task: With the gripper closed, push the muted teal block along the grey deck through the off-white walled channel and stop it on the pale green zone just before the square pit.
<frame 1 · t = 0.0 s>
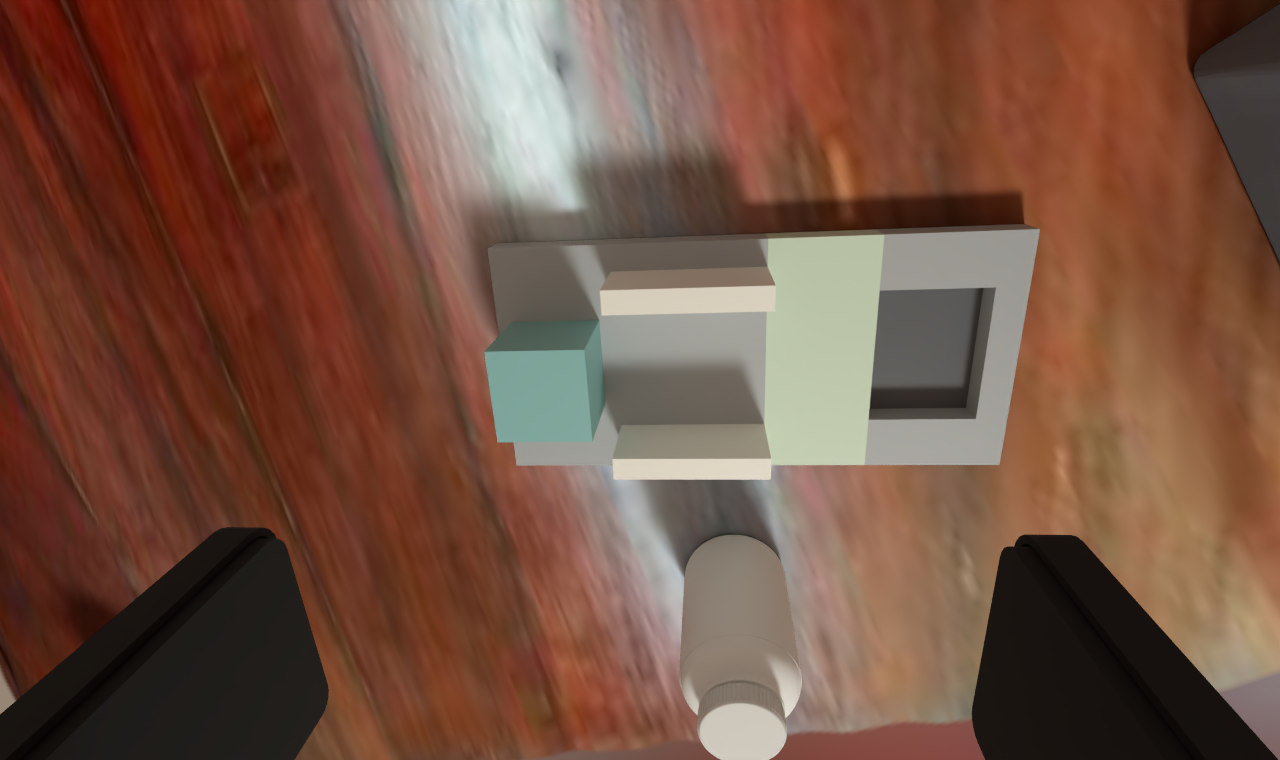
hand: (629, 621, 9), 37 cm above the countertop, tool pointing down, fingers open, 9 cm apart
deck: (748, 349, 46), on the countertop
pill bottle: (733, 571, 53), on the countertop
teal block: (559, 363, 45), point 2 cm above the countertop, touching deck
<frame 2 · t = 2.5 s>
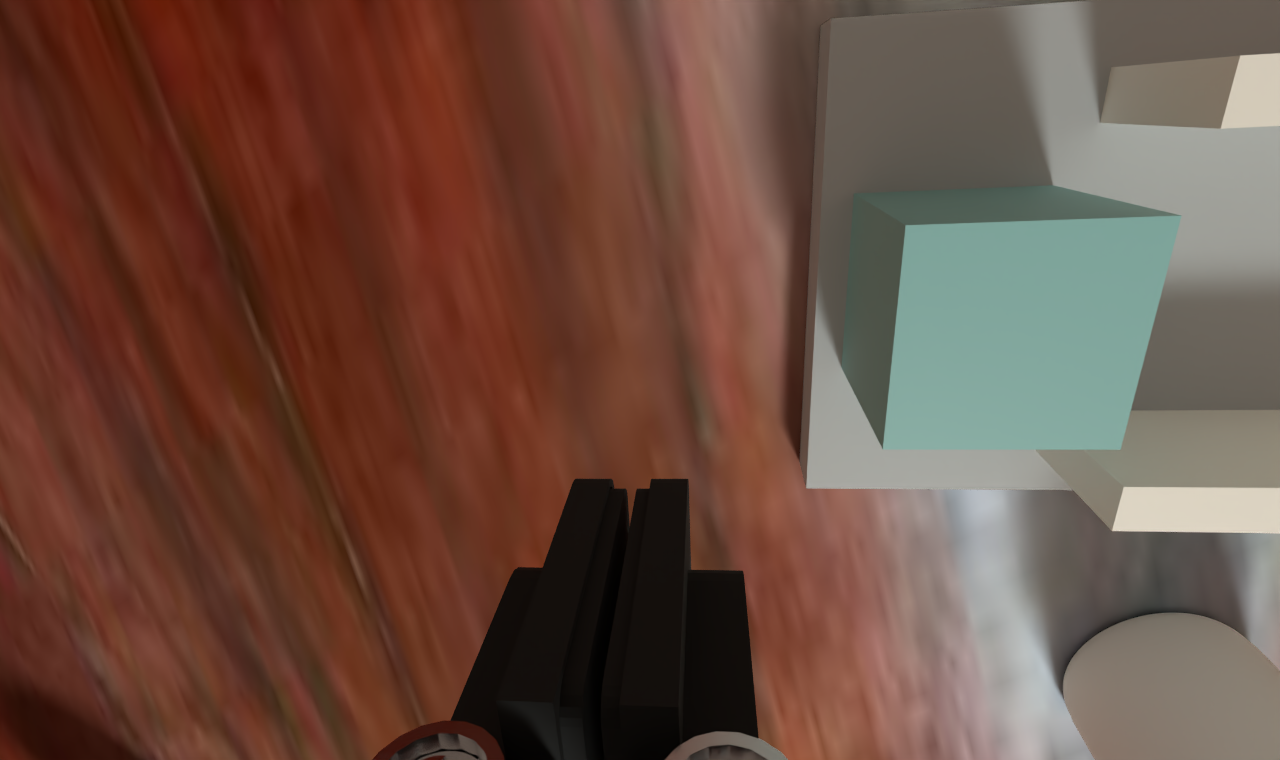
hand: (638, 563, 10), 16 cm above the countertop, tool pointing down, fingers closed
pill bottle: (1147, 671, 30), on the countertop
teal block: (940, 282, 22), point 2 cm above the countertop, touching deck
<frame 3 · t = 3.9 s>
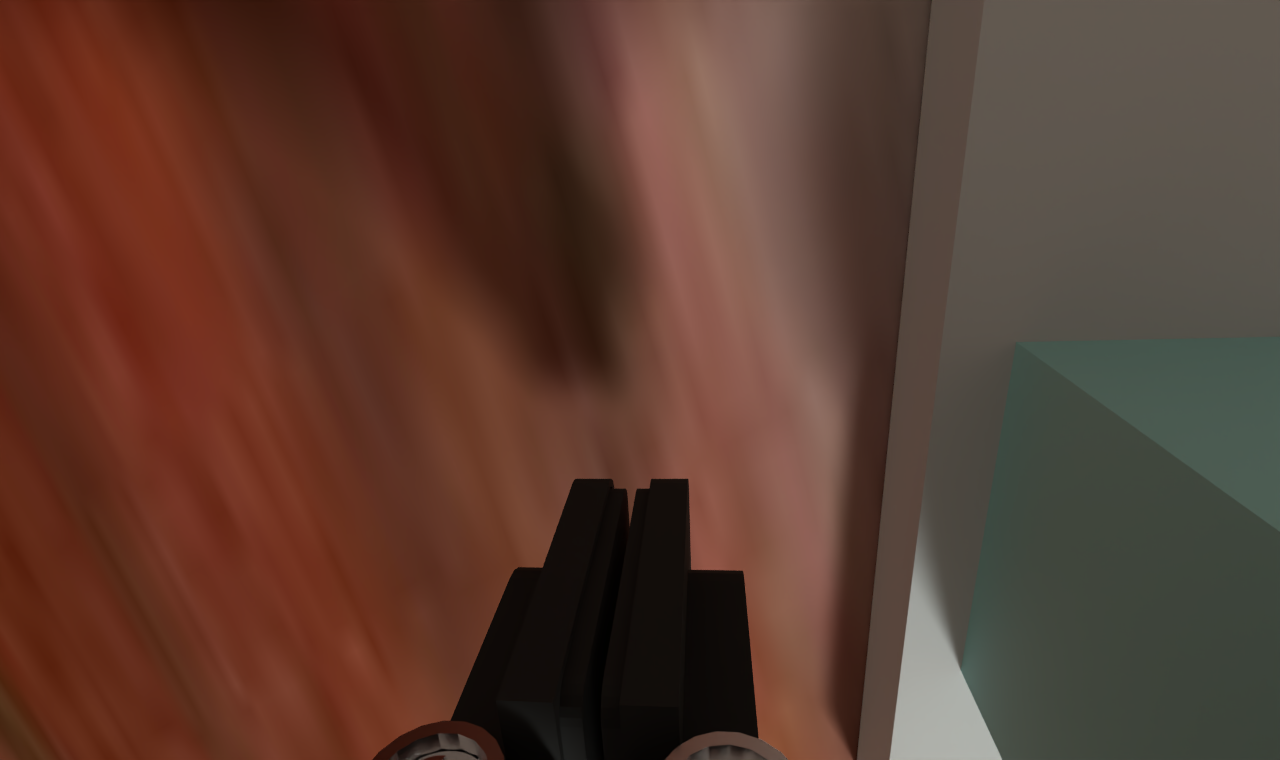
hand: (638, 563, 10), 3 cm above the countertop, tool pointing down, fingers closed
teal block: (1192, 525, 10), point 2 cm above the countertop, touching deck
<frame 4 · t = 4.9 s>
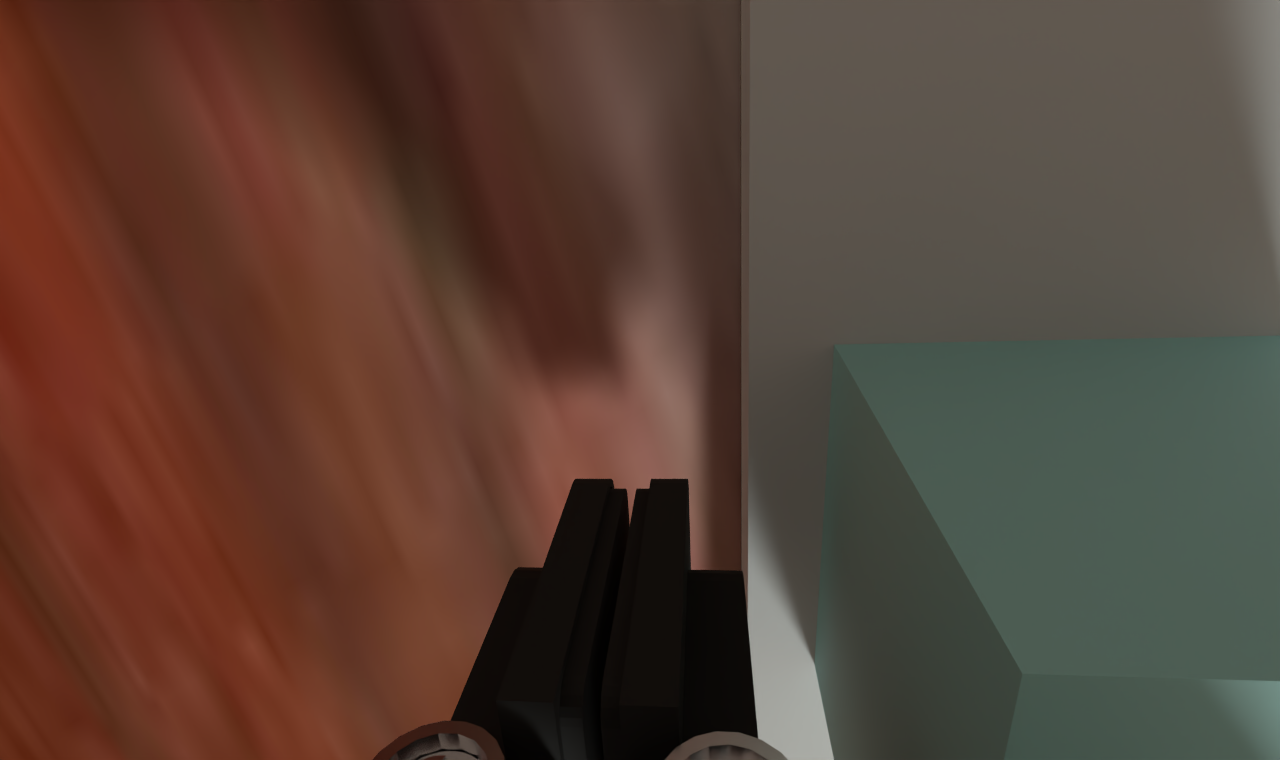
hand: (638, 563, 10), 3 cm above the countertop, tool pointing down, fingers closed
teal block: (1019, 522, 10), point 2 cm above the countertop, touching deck, gripper
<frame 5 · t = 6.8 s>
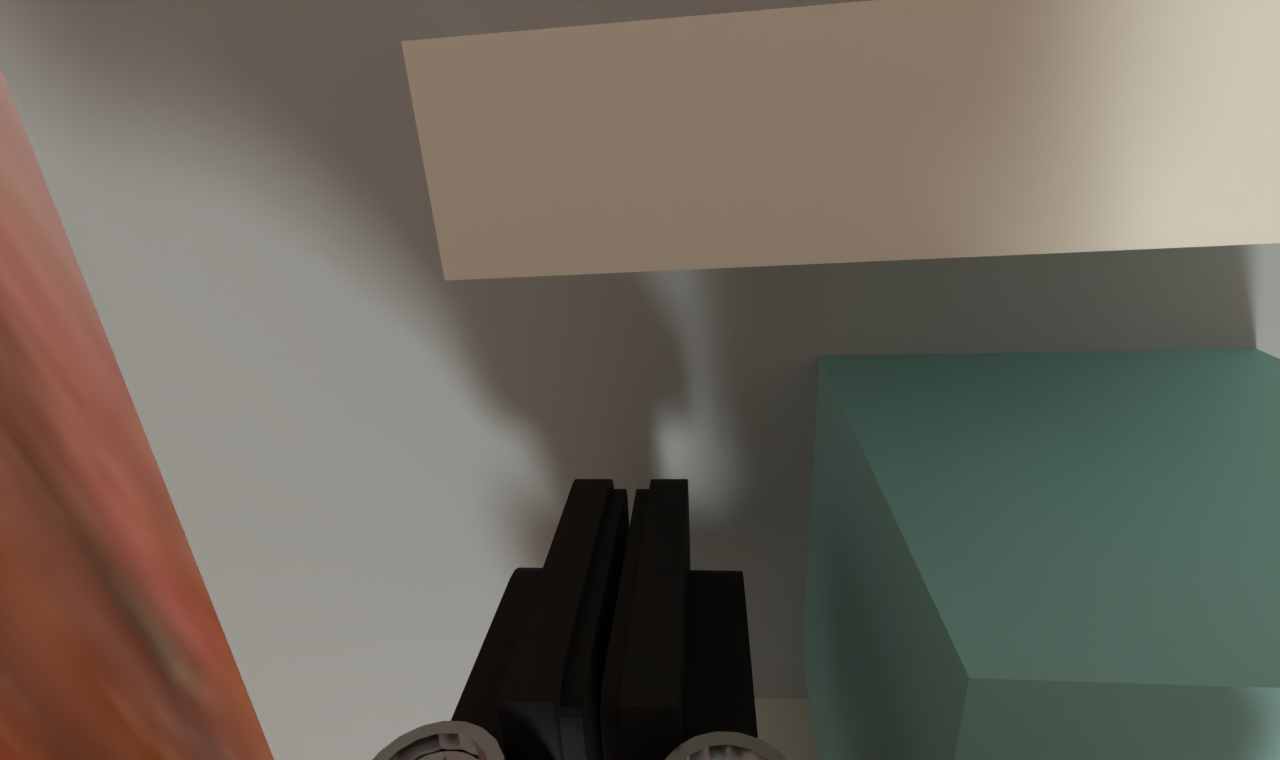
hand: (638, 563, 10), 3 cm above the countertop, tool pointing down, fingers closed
deck: (1109, 421, 12), on the countertop
teal block: (998, 526, 11), point 2 cm above the countertop, touching deck, gripper
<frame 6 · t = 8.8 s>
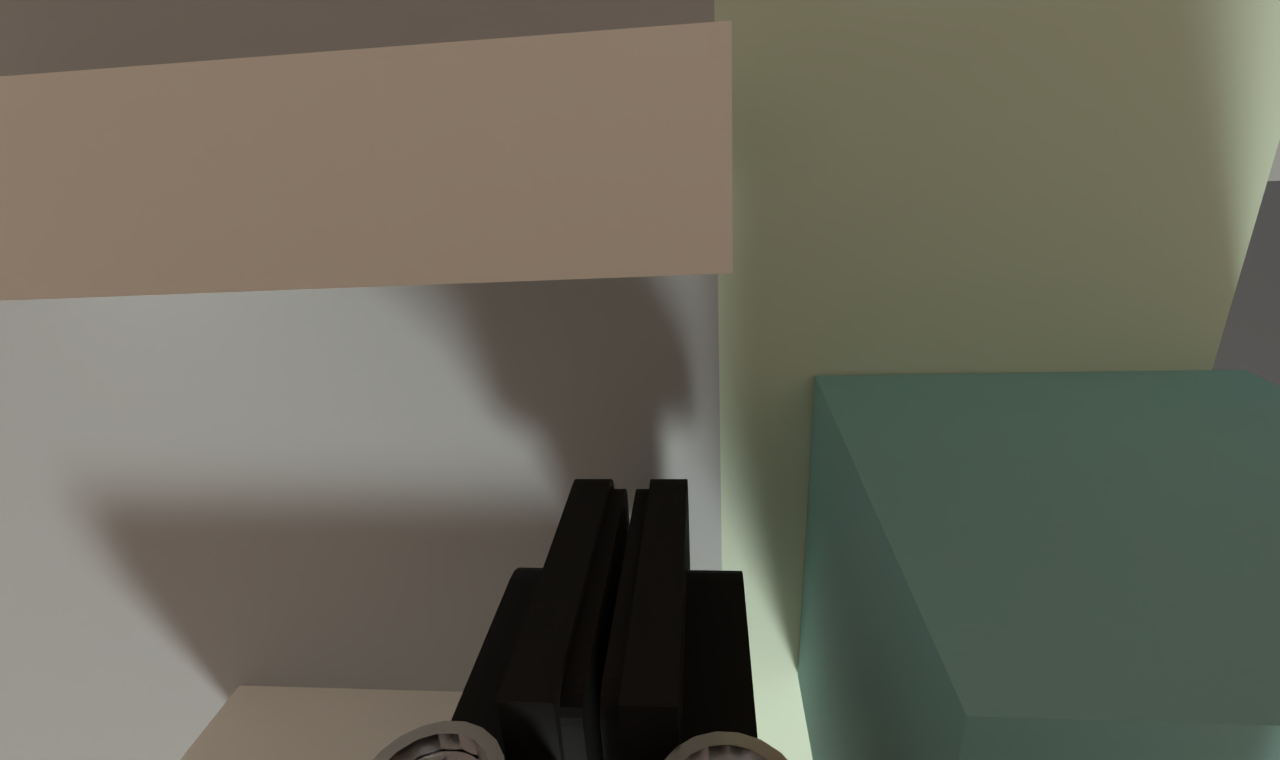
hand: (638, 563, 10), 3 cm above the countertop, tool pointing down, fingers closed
deck: (666, 432, 13), on the countertop
teal block: (991, 542, 11), point 2 cm above the countertop, touching deck, gripper
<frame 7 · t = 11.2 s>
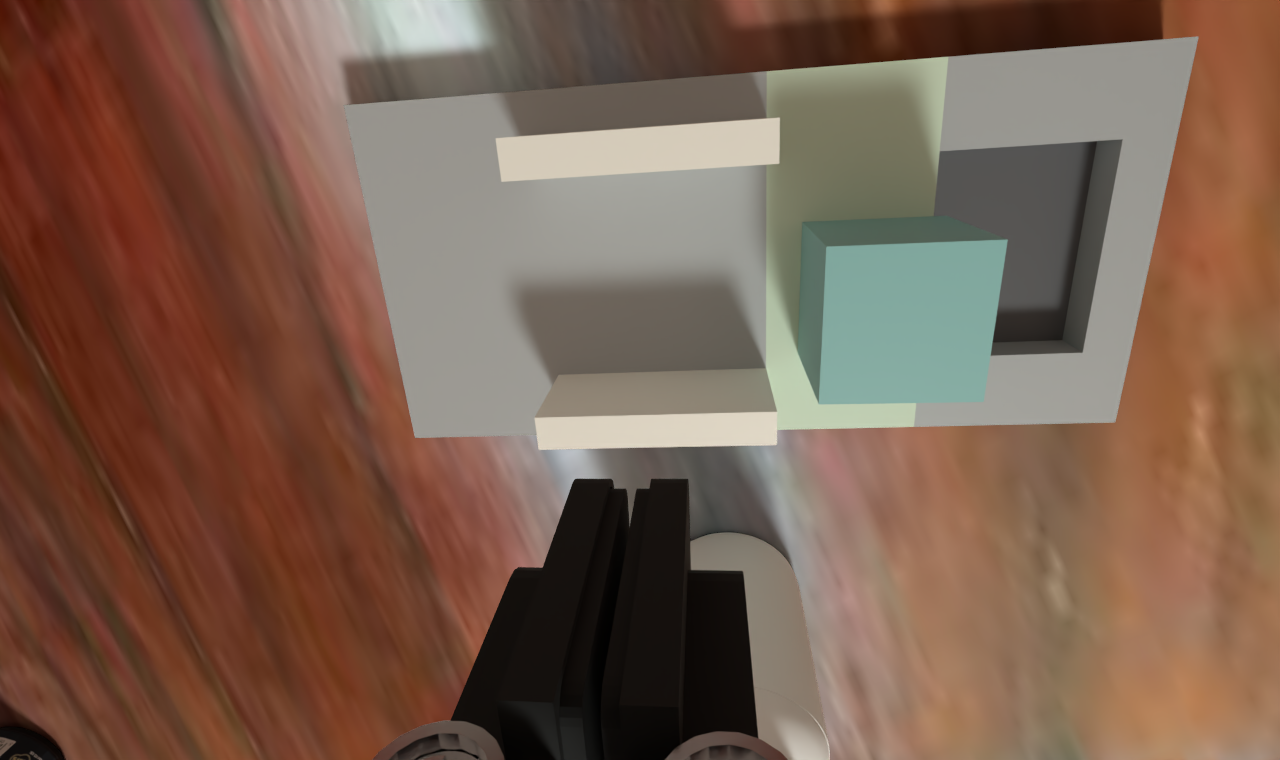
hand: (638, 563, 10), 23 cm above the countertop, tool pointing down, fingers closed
deck: (741, 260, 31), on the countertop
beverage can: (31, 752, 50), on the countertop
pill bottle: (727, 583, 38), on the countertop
teal block: (868, 287, 29), point 2 cm above the countertop, touching deck
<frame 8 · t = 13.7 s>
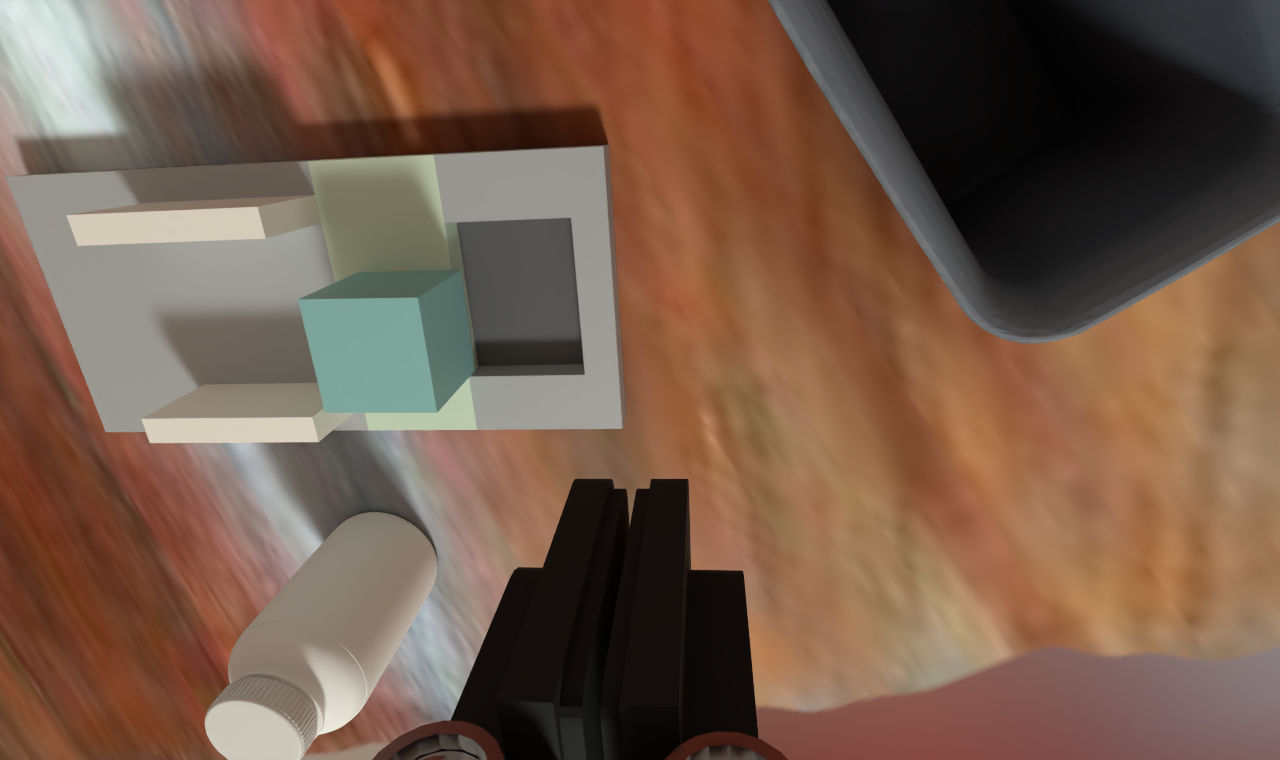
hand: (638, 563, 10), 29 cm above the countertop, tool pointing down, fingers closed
deck: (341, 297, 40), on the countertop
pill bottle: (387, 553, 47), on the countertop
teal block: (418, 322, 38), point 2 cm above the countertop, touching deck
storage bin: (925, 19, 32), on the countertop
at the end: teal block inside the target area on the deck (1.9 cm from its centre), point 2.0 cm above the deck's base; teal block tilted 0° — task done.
